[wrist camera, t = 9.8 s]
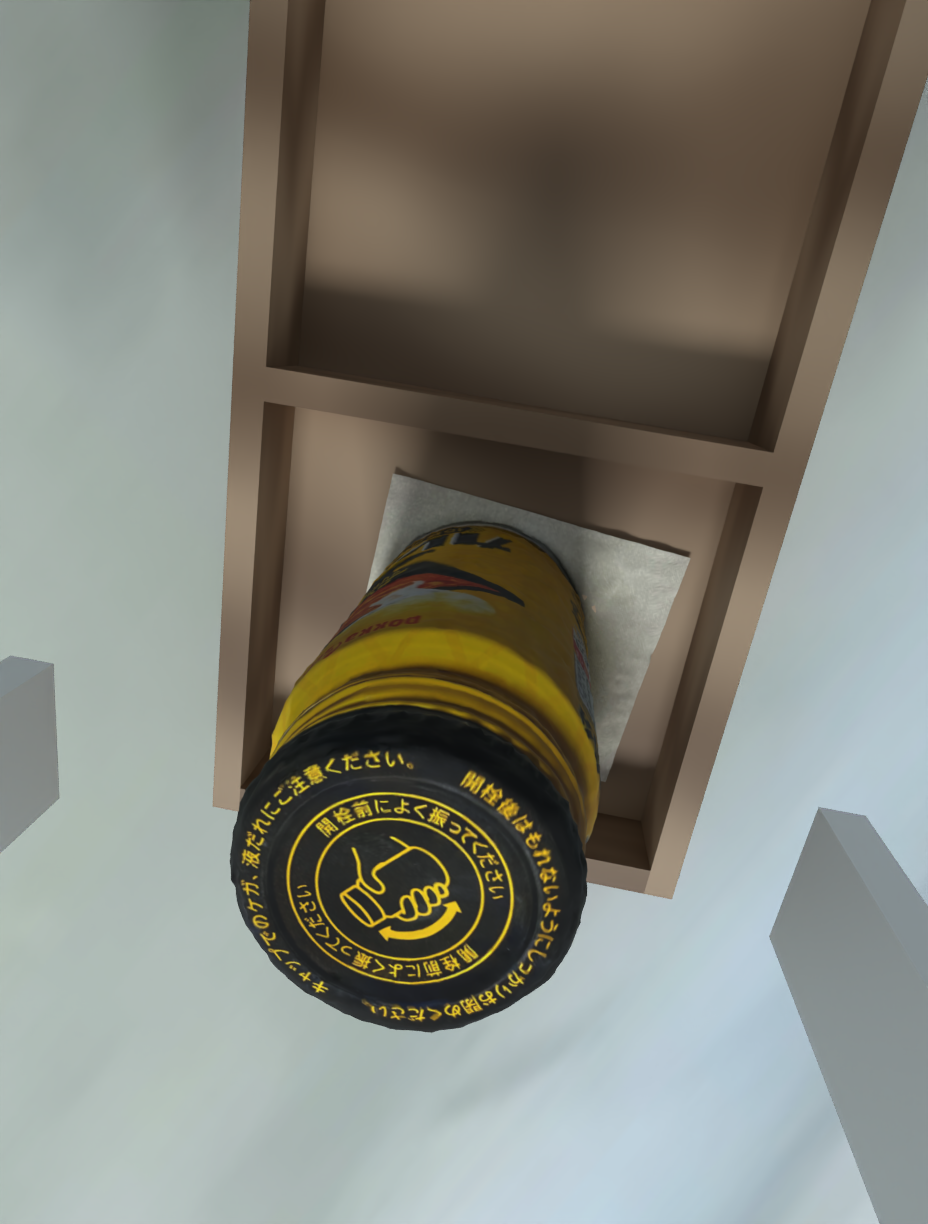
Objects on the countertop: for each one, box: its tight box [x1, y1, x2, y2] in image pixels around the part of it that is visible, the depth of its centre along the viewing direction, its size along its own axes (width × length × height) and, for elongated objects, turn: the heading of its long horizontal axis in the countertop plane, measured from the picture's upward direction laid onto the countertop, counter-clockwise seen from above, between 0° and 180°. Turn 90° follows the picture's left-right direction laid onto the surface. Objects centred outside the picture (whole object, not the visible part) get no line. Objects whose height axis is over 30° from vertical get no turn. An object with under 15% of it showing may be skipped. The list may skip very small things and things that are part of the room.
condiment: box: [230, 474, 690, 1033], centre depth 16 cm, size 7×8×12 cm
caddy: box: [213, 0, 928, 899], centre depth 19 cm, size 24×14×3 cm, turn 171°
